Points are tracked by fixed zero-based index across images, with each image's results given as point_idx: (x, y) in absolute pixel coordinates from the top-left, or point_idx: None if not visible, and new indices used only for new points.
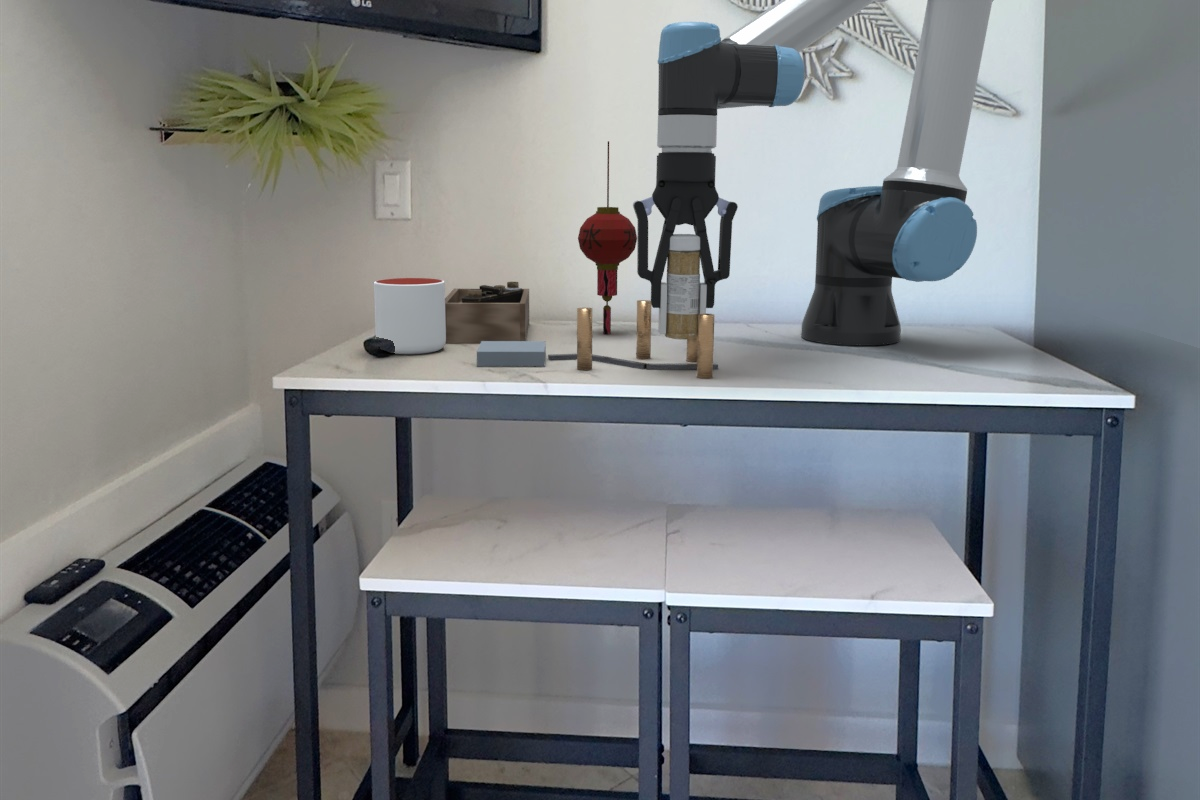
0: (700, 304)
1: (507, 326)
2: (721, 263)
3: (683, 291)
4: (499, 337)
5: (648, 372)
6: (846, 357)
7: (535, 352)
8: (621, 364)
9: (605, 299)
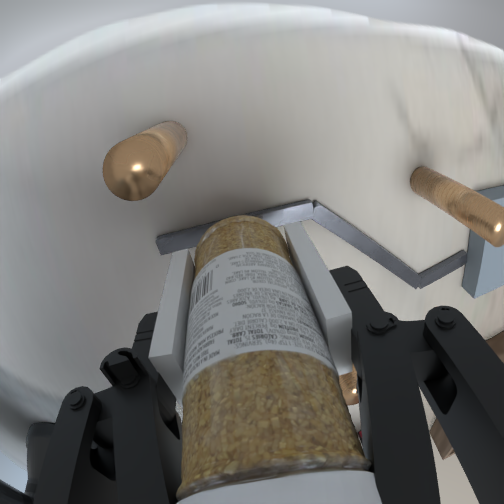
0: (178, 299)
1: None
2: (79, 440)
3: (243, 297)
4: (490, 344)
5: (302, 166)
6: (24, 369)
7: (498, 198)
8: (361, 232)
9: None
